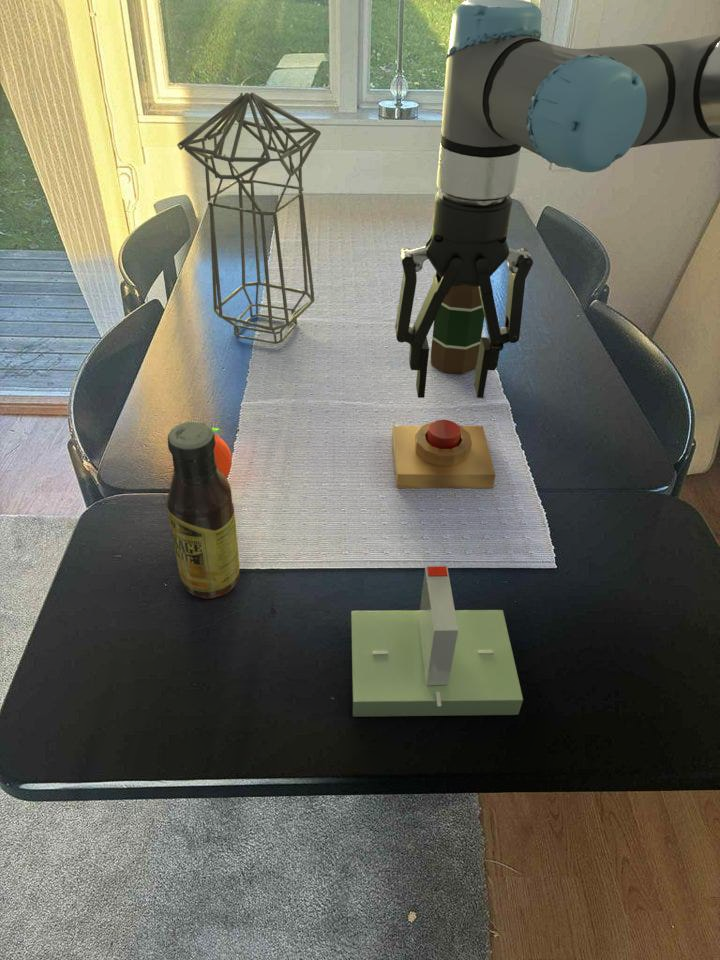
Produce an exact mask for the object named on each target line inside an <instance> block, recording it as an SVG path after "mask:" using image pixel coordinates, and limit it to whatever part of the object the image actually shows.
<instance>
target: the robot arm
mask: <svg viewBox="0 0 720 960" xmlns="http://www.w3.org/2000/svg"><path fill="white" fill-rule="evenodd" d="M542 17H543V13H542V10H541V9H540V7H539V6H538V5H537V4H535V3H534V2H530V1H527V0H465V1H462V2H461V3H460V4H459V5H457V7H456V8H455V9H454V12H453V14H452V21H451V28H450V36H449V44H448V49H447V50H446V54H445V60H446V64H445V77H444V89H443V101H442V114H441V128H440V129H441V130H440V142H439V143H440V144H439V154H438V155H439V156H438V164H437V172H436V173H437V174H436V187H437V188H438V191H437V192H436V193H435V194H434V205H433V214H432V215H433V217H432V226H431V227H432V228H431V233H430V236H429V239H428V240H427V242H426V243H425V246H422V247H418V248H414V249H411V247H409V246H404V247H402V248H401V250H400V260H401V264H402V265H401V266H402V269H403V272H402V278H401V285H400V292H399V297H398V298H399V300H398V306H397V313H396V319H395V326H394V328H395V330H394V331H395V336H396V337H395V338H396V341H397V343H406V344H409V354H408V364H409V368H410V370H411V371H416V379H415V387H416V392H417V393H416V394H417V398H419V399H425V396H426V387H427V386H426V385H427V374H428V365H429V355H430V347H429V342H428V337H427V336H428V334H429V332H430V331H431V328H432V325H434V319H435V317H436V315H437V313H438V311H439V309H440V307H441V304H442V302H443V300H444V298H445V296H446V295H448V293H449V291H450V288H451V286H460V285H469V286H478V288H479V293H480V298H481V303H482V307H483V312H484V323H485V327H486V331H487V335H488V337H487V336H486V337H484V336H481V340H480V346H479V353H478V360H477V366H476V368H475V374H474V379H473V388H474V392H475V396H476V398H477V399H484V395H485V392H486V391H485V390H486V384H487V380H488V379H487V378H488V372H489V371H496V369H497V368H498V364H499V357H500V353H501V351H502V350H503V349H504V344H507V343H511V344H516V343H517V342H518V341H519V340H520V336H521V326H522V317H523V307H524V306H523V305H524V299H525V298H524V296H525V288H526V279H527V277H528V276H529V273H530V271H531V269H532V267H533V264H534V261H533V260H534V259H532V256H531V254H530V252H529V250H528V248H525V247H522V248H519V249H515V248H511V247H509V245H508V241H507V238H508V232H509V225H510V220H511V219H510V218H511V213H512V206H513V199H512V198H511V196H510V195H512V194H513V193H514V192H515V187H516V181H517V175H518V168H519V162H520V155H521V148H523V149H526V150H527V151H529V152H532V153H533V154H535V155H537V156H540V157H541V158H542V159H545V160H546V161H547V162H548V163H550V164H554V165H555V166H557V167H560V168H566V169H567V168H568V169H570V170H573V171H574V170H575V171H578V172H581V173H597V172H601V171H604V170H606V169H607V168H610V167H611V165H612V164H613V163H614V162H615V161H616V160H619V159H621V158H623V157H624V156H626V154H627V153H628V152H629V150H630V149H632V148H639V147H643V146H649V145H658V144H667V143H668V144H669V143H675V142H684V141H685V142H687V141H701V140H717V139H718V140H719V139H720V32H719V33H714V34H713V33H712V34H710V35H705V36H699V37H696V38H695V37H694V38H690V39H683V40H675V41H674V40H673V41H667V42H657V43H641V44H640V43H639V44H631V45H630V44H629V45H628V44H627V45H615V46H601V47H590V48H589V47H588V48H572V47H565V46H561V45H558V44H553V43H548V42H546V41H544V40H543V41H542V40H541V37H542V35H543V34H542V19H543V18H542ZM426 260H428V261H429V262H430V264H431V265H432V267H433V268H434V270H435V272H434V275H433V279H432V282H431V285H430V287H429V289H428V292H427V294H426V296H425V299H424V300H423V303H422V305H421V308H420V309H419V312H418V314H417V316H416V319H415V321H414V323H413V326H412V327H411V326H410V325H411V319H412V313H413V305H414V301H415V295H416V290H417V289H416V287H417V283H418V282H417V281H418V279H417V278H418V276H417V275H418V274H417V273H418V272H421V271H422V269H423V268H424V267H423V266H424V263H425V261H426ZM505 261H507V262H506V266H507V268H508V270H509V273H508V282H507V296H506V306H505V317H504V326H503V327H500V324H499V323H500V322H499V317H498V313H497V312H498V311H497V308H496V303H495V296H494V292H493V285H492V280H491V277H492V275H493V274H494V273H495V272H496V271H497V270H498V269H499V268H500V267H501V266H502V264H503V263H504V262H505Z"/></svg>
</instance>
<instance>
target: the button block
mask: <svg viewBox="0 0 720 960" xmlns="http://www.w3.org/2000/svg"><path fill="white" fill-rule="evenodd" d="M432 422H433V421H431V422H428V423H424V424H423V425H392V428H391V444H392V454H393V464H394V465H393V466H394V473H395V474H394V475H395V477H394V478H395V485H396V488H397V489H412V488H413V489H490V488H491V489H493V488H494V486H495V479H496V470H495V466H494V464H493V463H494V462H493V460H492V456H491V452H490V448H489V444H488V440H487V437H486V433H485V428H484V426H483V425H461V424H458V425H459V427H460V429H461V433H460V440H459V444H458V445H457V446H456V447H455V448H452V449H439V448H436V447H433V446H431V445H430V444H429V443H428V440H427V437H428V428H429V425H430V424H431V423H432Z"/></svg>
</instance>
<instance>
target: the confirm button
mask: <svg viewBox="0 0 720 960" xmlns="http://www.w3.org/2000/svg"><path fill="white" fill-rule="evenodd" d="M431 422H432V423H431ZM431 422H430V423H431V424H430V425H429V428H428V437H427V440H428V443H429V444H430V445H431V446H433V447H436V448H439V449H452V448H455V447H456V446H457V445H458V444H459V440H460V433H461V429H460V427H459V425H460V424H458V423H456V422H454V421H453V420H449V419H436V420H433V421H431Z"/></svg>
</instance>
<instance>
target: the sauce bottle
mask: <svg viewBox="0 0 720 960" xmlns="http://www.w3.org/2000/svg"><path fill="white" fill-rule="evenodd" d="M212 428H213V427H212V426H210V425H209V424H207V423H205V422H203V421H199V420H196V421H193V420H189V421H188V420H187V421H184V422H181V423H178V424H176V425H174V426H173V427H172V428H171V429H170V430H169V432H168V435H167V447H168V451H169V453H170V454H171V458H172V465H173V464H174V466H173V475H172V479H171V482H170V487H169V490H168V494H167V498H166V503H165V504H166V510H167V514H168V515H167V517H168V520H169V526H170V532H171V537H172V542H173V548H174V552H175V557H176V562H177V568H178V573H179V576H180V579H181V581H182V585H183V586H184V588H185V590H186V592H188V593H189V594H190V595H193V596H194V597H197V598H200V599H203V600H212V599H215V598H219V597H223V596H224V595H226V594H228V593H230V592H231V591H232V590H233V589H234V587H235V586H237V583H238V582H239V579H240V575H241V573H240V569H241V567H240V565H241V564H240V554H239V544H238V534H237V524H236V513H235V506H234V502H233V495H232V489H231V488H232V487H231V484H230V481H229V480H228V479H227V477H225V476H224V475H223V473H222V472H221V470H220V469H217V464H216V461H215V454H214V448H215V436H214V434H215V432H213V429H212Z"/></svg>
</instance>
